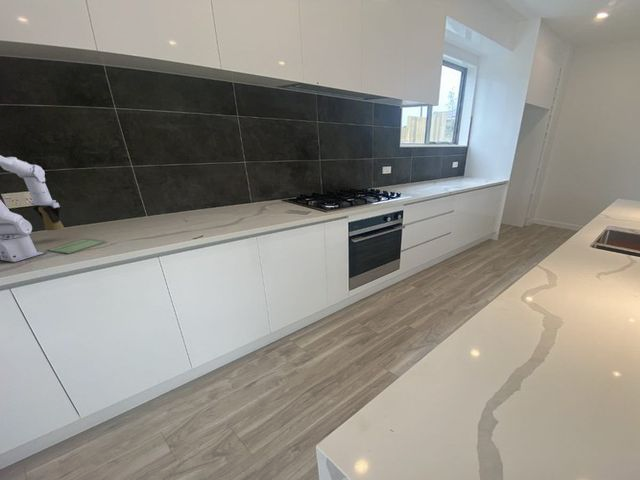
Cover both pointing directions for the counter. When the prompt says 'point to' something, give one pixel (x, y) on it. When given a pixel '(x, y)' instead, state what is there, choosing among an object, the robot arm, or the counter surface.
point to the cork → (49, 221)
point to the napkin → (75, 246)
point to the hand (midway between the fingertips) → (52, 221)
